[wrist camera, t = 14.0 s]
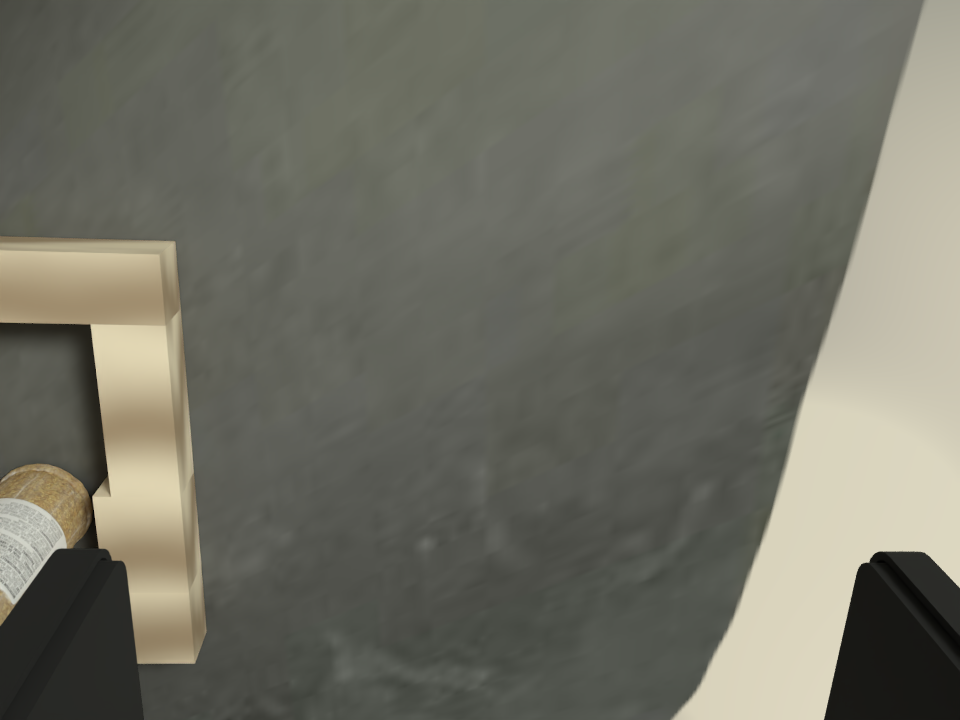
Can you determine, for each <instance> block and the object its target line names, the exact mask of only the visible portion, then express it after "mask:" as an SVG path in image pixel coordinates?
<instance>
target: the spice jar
mask: <svg viewBox="0 0 960 720" xmlns="http://www.w3.org/2000/svg"><path fill="white" fill-rule="evenodd" d="M92 513H93V506H92V503H91V499H90V497H89V495H88V492H87V490H86V489H85V487H84V486H83V484H82V483H81V482H80V481H79V480H78V479H76V478H75V477H73V476H72V475H71V474H70V473H68V472H66V471H64V470H63V469H61V468H58V467H55V466H51V465H49V464H32V465H24V466H22V467H18V468H16V469H14V470H12V471H10V472H9V473H8V474H7V475H6V476H4V477H3V478H2V479H1V481H0V626H1V625H2V623H3V622H4V620H5V619H6V618H7V616H8V615H9V613H10V612H11V611H12V609H13V608H14V606H15V605H16V604H17V602H18V601H19V599H20V598H21V597H22V595H23V594H24V592H25V591H26V590H27V588H28V587H29V585H30V584H31V583H32V581H33V580H34V578H35V577H36V576H37V574H38V573H39V571H40V570H41V569H42V567H43V566H44V564H45V563H46V562H47V560H48V559H49V557H50V556H51V555H52V553H53V552H54V551H55V550H56V549H61V548H73V546H74V545H75V543H76V542H77V541H79V540H80V539H81V538H82V537H83V535H84V534H85V533H86V532H87V530H88V528H89V526H90V524H91V521H92Z"/></svg>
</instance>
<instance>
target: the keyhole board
mask: <svg viewBox="0 0 960 720" xmlns="http://www.w3.org/2000/svg"><path fill="white" fill-rule="evenodd" d="M0 322H3V323H51V324H91V332H92V341H93V349H94V357H95V366H96V374H97V383H98V391H99V400H100V408H101V417H102V425H103V434H104V442H105V450H106V459H107V467H108V476H107V477H106V478H105V480H104V481H103V483H102V484H101V485H100V487H99V488H98V490H97V491H96V492H95V494H94V495H93V497H92V498H93V506H94V514H95V522H96V530H97V538H98V545H99V549H107V550H108V551H109V553H110V555H111V558H112V561H123V562H124V564H125V566H126V570H127V577H128V586H129V595H130V603H131V612H132V621H133V629H134V638H135V647H136V655H137V664H179V663H195V662H196V659H197V656H198V654H199V651H200V648H201V646H202V643H203V640H204V637H205V635H206V632H207V630H206V617H205V605H204V592H203V580H202V567H201V555H200V543H199V530H198V518H197V505H196V493H195V480H194V468H193V455H192V443H191V430H190V418H189V406H188V393H187V381H186V368H185V356H184V343H183V331H182V318H181V306H180V294H179V281H178V269H177V256H176V244H175V241H152V240H115V239H79V238H42V237H5V236H0Z"/></svg>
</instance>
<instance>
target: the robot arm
mask: <svg viewBox="0 0 960 720" xmlns="http://www.w3.org/2000/svg"><path fill="white" fill-rule="evenodd" d="M0 720H144V716H143V708H142V699H141V690H140V681H139V673H138V664H137V655H136V647H135V638H134V629H133V621H132V612H131V603H130V595H129V586H128V577H127V570H126V566H125V564H124V562H123V561H112V558H111V555H110V553H109V551H108V550H107V549H80V548H61V549H56V550H55V551H54V552H53V553H52V555H51V556H50V557H49V559H48V560H47V562H46V563H45V564H44V566H43V567H42V569H41V570H40V571H39V573H38V574H37V576H36V577H35V578H34V580H33V581H32V583H31V584H30V585H29V587H28V588H27V590H26V591H25V592H24V594H23V595H22V597H21V598H20V599H19V601H18V602H17V604H16V605H15V606H14V608H13V609H12V611H11V612H10V613H9V615H8V616H7V618H6V619H5V620H4V622H3V623H2V625H1V626H0ZM824 720H960V588H959V587H958V586H957V585H956V584H955V583H954V582H953V581H952V580H951V579H950V577H949V576H948V575H947V574H946V573H945V572H944V571H943V570H942V569H941V568H940V567H939V566H938V565H937V564H936V563H935V562H934V561H933V560H932V559H931V558H930V557H929V556H928V555H926V554H925V553H923V552H877V553H875V554H874V555H873V557H872V558H871V559H870V562H869V563H863V564H861V566H860V567H859V569H858V571H857V575H856V580H855V584H854V588H853V593H852V597H851V602H850V606H849V611H848V615H847V620H846V624H845V628H844V633H843V637H842V642H841V646H840V651H839V655H838V660H837V664H836V669H835V673H834V678H833V682H832V687H831V691H830V696H829V700H828V705H827V709H826V714H825V718H824Z"/></svg>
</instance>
